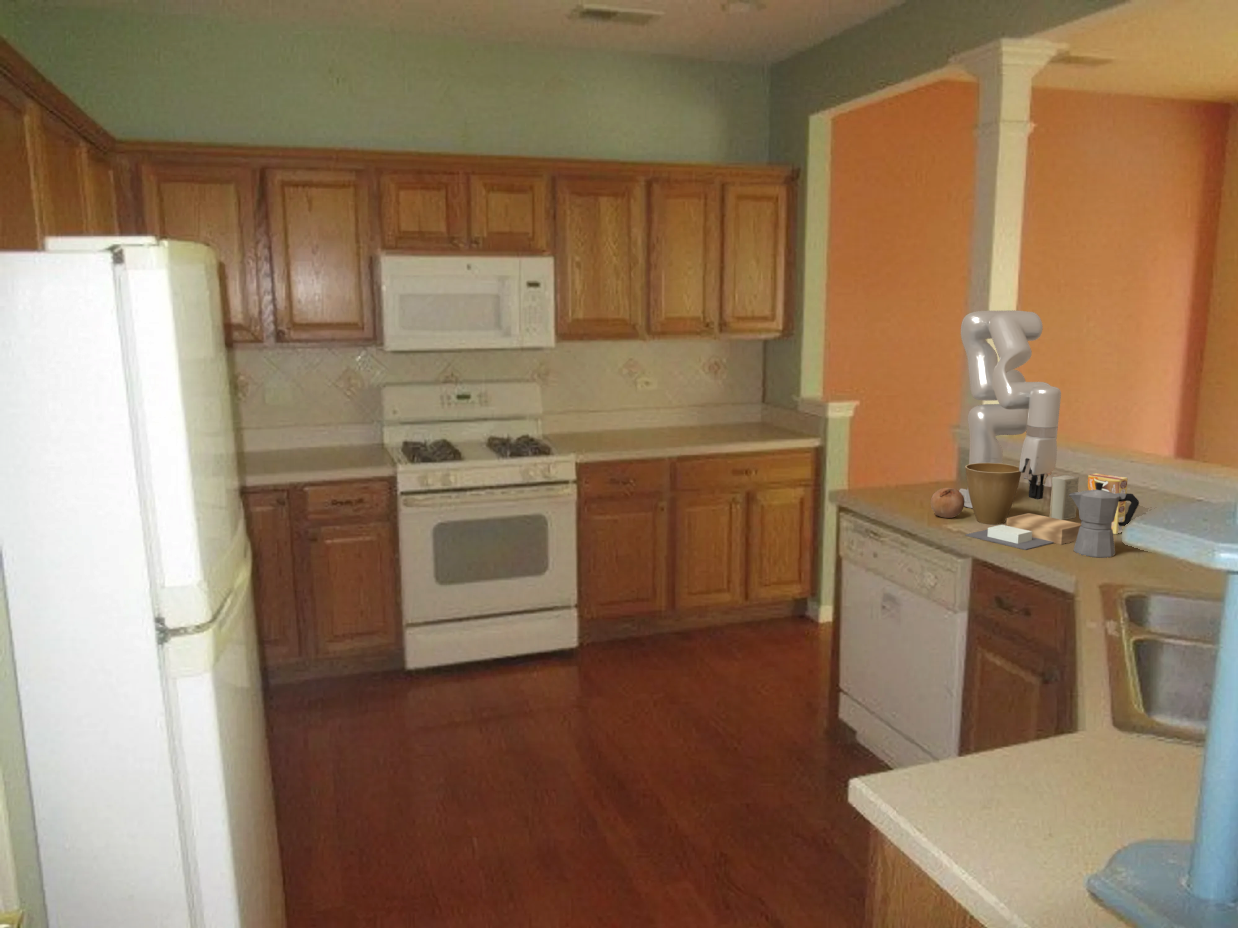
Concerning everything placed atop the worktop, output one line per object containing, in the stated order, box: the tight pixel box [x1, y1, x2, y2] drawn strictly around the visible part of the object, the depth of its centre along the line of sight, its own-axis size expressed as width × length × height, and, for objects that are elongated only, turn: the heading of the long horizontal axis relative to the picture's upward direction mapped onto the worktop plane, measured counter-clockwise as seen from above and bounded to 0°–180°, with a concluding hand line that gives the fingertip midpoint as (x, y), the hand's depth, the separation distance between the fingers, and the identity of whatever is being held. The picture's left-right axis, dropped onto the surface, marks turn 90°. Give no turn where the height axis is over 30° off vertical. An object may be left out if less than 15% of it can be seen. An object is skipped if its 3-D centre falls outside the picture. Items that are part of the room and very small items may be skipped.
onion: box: [930, 487, 965, 519], centre depth 261 cm, size 10×9×10 cm
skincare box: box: [1049, 474, 1080, 521], centre depth 257 cm, size 6×4×12 cm
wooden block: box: [1005, 513, 1081, 546], centre depth 238 cm, size 16×10×4 cm, turn 32°
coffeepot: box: [1069, 482, 1140, 559], centre depth 220 cm, size 15×9×18 cm, turn 69°
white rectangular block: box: [987, 524, 1032, 544], centre depth 235 cm, size 9×6×2 cm, turn 32°
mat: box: [965, 528, 1055, 551], centre depth 236 cm, size 18×12×1 cm, turn 32°
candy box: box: [1086, 472, 1128, 535], centre depth 242 cm, size 9×4×15 cm, turn 33°
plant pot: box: [964, 462, 1022, 525], centre depth 254 cm, size 15×15×16 cm
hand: (1035, 497), depth 242 cm, fingers closed
